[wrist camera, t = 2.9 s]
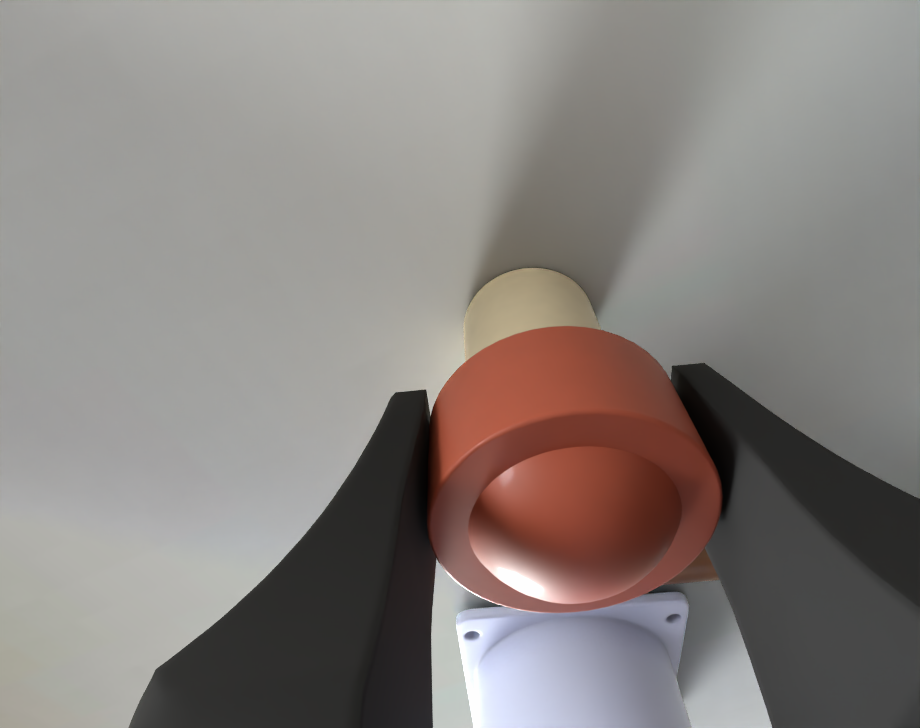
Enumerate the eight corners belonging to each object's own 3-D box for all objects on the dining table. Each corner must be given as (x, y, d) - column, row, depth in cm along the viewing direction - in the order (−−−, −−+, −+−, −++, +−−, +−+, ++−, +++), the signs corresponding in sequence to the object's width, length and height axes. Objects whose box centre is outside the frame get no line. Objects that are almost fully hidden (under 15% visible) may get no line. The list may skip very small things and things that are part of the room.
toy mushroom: (620, 393, 17) (725, 654, 11) (442, 410, 17) (444, 677, 11) (630, 223, 14) (779, 443, 8) (418, 245, 14) (403, 477, 8)
